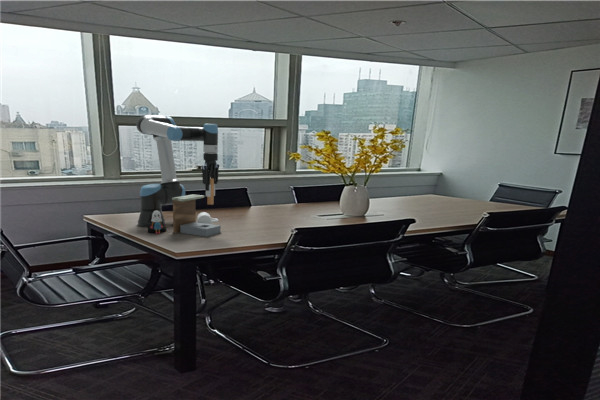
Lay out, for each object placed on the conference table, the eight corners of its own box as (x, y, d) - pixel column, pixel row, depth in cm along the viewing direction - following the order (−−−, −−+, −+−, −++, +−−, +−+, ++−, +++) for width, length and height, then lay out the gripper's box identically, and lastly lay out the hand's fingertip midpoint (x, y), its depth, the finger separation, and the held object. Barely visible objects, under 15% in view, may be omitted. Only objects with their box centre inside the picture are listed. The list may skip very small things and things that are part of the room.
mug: (197, 229, 250) (197, 215, 249) (196, 225, 260) (196, 212, 258) (219, 228, 253) (219, 214, 252) (217, 224, 263) (217, 211, 262)
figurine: (148, 235, 233) (148, 212, 231) (146, 230, 243) (146, 209, 241) (167, 233, 237) (167, 211, 235) (164, 229, 247) (164, 208, 245)
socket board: (180, 232, 240) (180, 225, 240) (194, 228, 251) (194, 221, 250) (206, 236, 232) (206, 229, 232) (220, 232, 243) (220, 225, 242)
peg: (205, 204, 240) (206, 178, 238) (209, 203, 243) (209, 178, 241) (211, 204, 239) (211, 179, 237) (214, 204, 242) (215, 178, 240)
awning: (172, 232, 239) (172, 197, 236) (193, 227, 254) (193, 194, 251) (184, 234, 236) (183, 199, 233) (204, 228, 251) (204, 195, 248)
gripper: (207, 153, 228) (207, 198, 231) (225, 152, 243) (224, 194, 246) (195, 153, 231) (195, 197, 234) (213, 152, 246) (213, 193, 249)
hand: (210, 195), depth 240 cm, fingers closed on peg, 3 cm apart
